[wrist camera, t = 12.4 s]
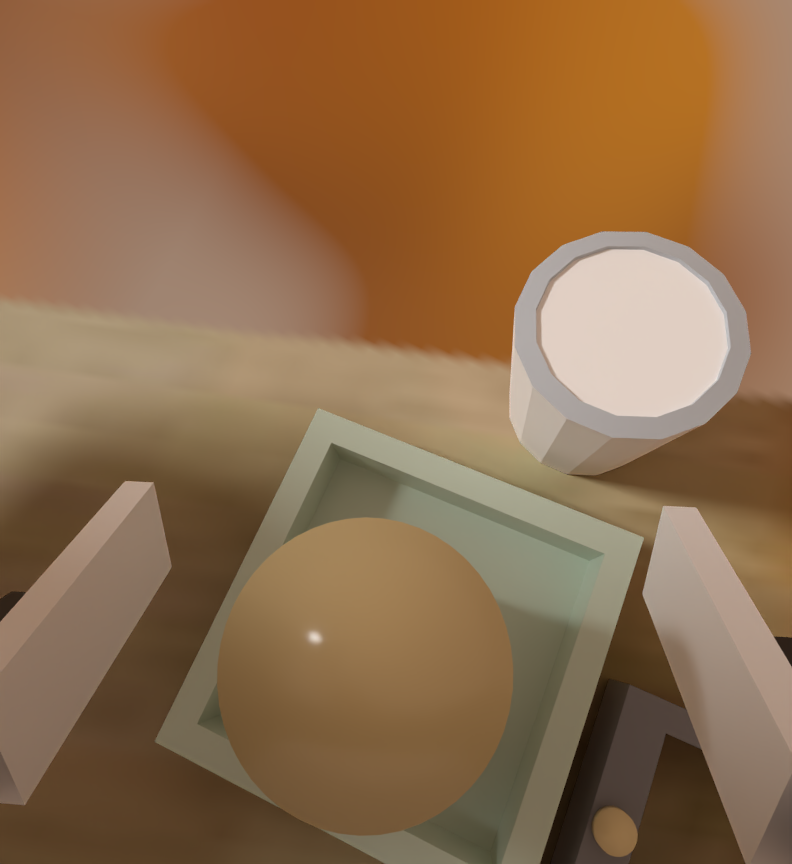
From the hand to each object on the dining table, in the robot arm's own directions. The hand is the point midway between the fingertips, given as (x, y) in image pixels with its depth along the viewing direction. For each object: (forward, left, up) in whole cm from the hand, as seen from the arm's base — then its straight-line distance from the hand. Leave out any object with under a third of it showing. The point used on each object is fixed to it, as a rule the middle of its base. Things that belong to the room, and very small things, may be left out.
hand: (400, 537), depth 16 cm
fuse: (+1, -2, -7) cm, 8 cm away
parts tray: (+1, -2, -8) cm, 8 cm away
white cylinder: (+4, +8, -8) cm, 12 cm away
